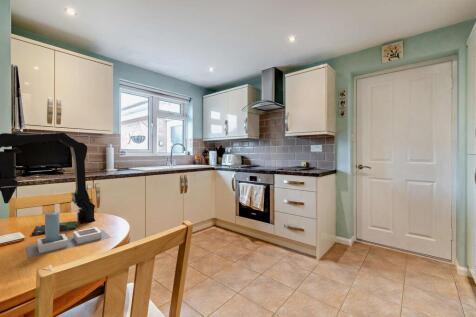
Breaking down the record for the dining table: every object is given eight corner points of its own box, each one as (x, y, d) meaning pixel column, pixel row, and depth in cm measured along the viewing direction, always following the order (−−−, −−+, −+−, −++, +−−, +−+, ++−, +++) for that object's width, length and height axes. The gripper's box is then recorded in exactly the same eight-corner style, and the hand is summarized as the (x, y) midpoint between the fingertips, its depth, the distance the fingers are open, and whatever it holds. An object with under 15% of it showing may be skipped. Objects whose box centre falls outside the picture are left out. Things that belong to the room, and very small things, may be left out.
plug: (58, 242, 86) (58, 211, 85) (60, 246, 83) (59, 214, 83) (44, 245, 83) (44, 213, 83) (46, 249, 80) (45, 216, 80)
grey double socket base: (102, 231, 100) (102, 224, 100) (111, 239, 92) (111, 231, 92) (25, 249, 82) (25, 239, 82) (27, 261, 74) (27, 250, 74)
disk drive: (31, 240, 92) (76, 232, 100) (31, 233, 92) (76, 226, 100) (35, 232, 100) (76, 225, 109) (35, 225, 100) (76, 220, 109)
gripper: (-23, 162, 93) (-23, 200, 94) (-26, 165, 80) (-26, 209, 81) (15, 162, 101) (15, 196, 102) (17, 165, 89) (17, 204, 89)
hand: (6, 201), depth 93 cm, fingers open, 9 cm apart
